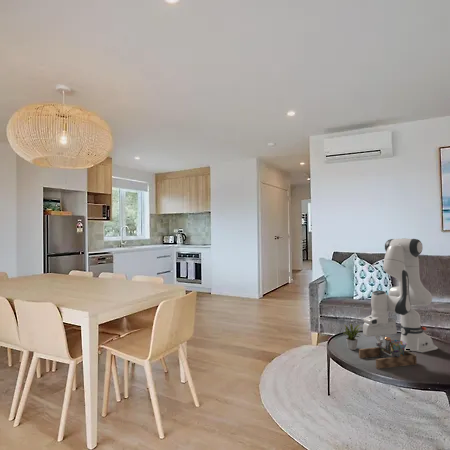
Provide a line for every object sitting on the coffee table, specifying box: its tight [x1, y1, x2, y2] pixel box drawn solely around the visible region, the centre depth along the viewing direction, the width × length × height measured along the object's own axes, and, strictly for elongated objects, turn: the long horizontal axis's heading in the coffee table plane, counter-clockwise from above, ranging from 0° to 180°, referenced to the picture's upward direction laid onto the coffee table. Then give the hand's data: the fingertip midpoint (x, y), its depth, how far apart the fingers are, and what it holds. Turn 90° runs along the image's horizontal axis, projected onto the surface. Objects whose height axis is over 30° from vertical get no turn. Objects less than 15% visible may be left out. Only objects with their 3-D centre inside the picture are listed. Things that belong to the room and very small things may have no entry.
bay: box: [358, 345, 418, 370], centre depth 195 cm, size 25×19×6 cm
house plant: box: [342, 323, 362, 351], centre depth 217 cm, size 14×14×16 cm
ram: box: [376, 336, 401, 358], centre depth 196 cm, size 3×19×13 cm, turn 11°
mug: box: [390, 338, 407, 357], centre depth 196 cm, size 12×9×11 cm
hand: (380, 342), depth 194 cm, fingers closed
